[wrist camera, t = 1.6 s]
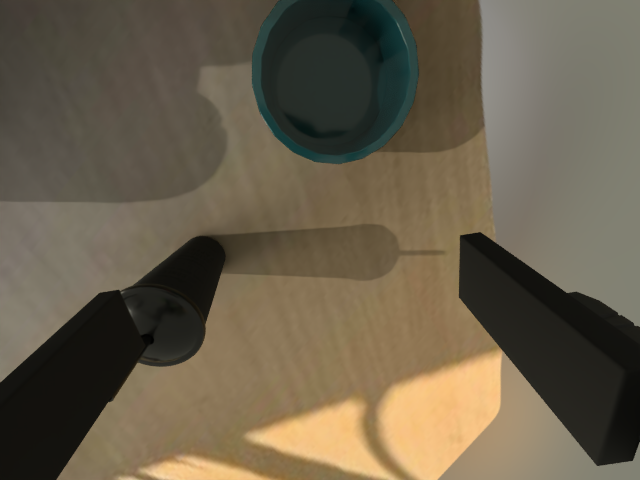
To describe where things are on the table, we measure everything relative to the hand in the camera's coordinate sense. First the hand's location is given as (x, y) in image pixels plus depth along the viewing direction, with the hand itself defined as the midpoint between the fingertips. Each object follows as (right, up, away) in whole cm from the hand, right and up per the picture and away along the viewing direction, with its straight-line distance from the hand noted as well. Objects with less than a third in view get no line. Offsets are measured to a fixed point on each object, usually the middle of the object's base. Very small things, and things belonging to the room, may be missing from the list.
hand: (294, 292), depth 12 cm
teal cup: (+2, +17, +19) cm, 25 cm away
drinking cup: (-13, 0, +25) cm, 28 cm away
